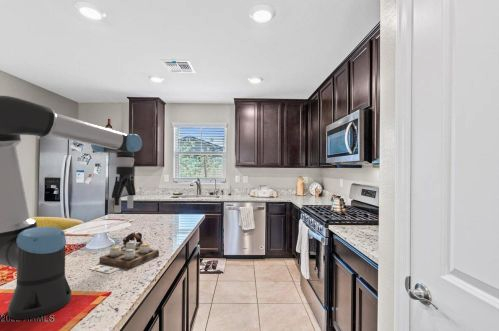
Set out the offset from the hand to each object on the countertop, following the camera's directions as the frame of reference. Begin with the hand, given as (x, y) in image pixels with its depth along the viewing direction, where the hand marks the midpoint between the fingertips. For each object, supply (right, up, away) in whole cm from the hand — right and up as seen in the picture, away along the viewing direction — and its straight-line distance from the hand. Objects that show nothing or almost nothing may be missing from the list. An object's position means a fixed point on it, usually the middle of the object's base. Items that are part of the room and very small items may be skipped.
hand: (124, 210), depth 122 cm
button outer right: (+10, -20, 0) cm, 22 cm away
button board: (+4, -23, -3) cm, 23 cm away
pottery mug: (-4, -23, +19) cm, 30 cm away
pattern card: (-1, -22, -15) cm, 27 cm away
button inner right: (+7, -20, -9) cm, 23 cm away
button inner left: (-2, -20, -5) cm, 21 cm away
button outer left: (+2, -20, +3) cm, 20 cm away
